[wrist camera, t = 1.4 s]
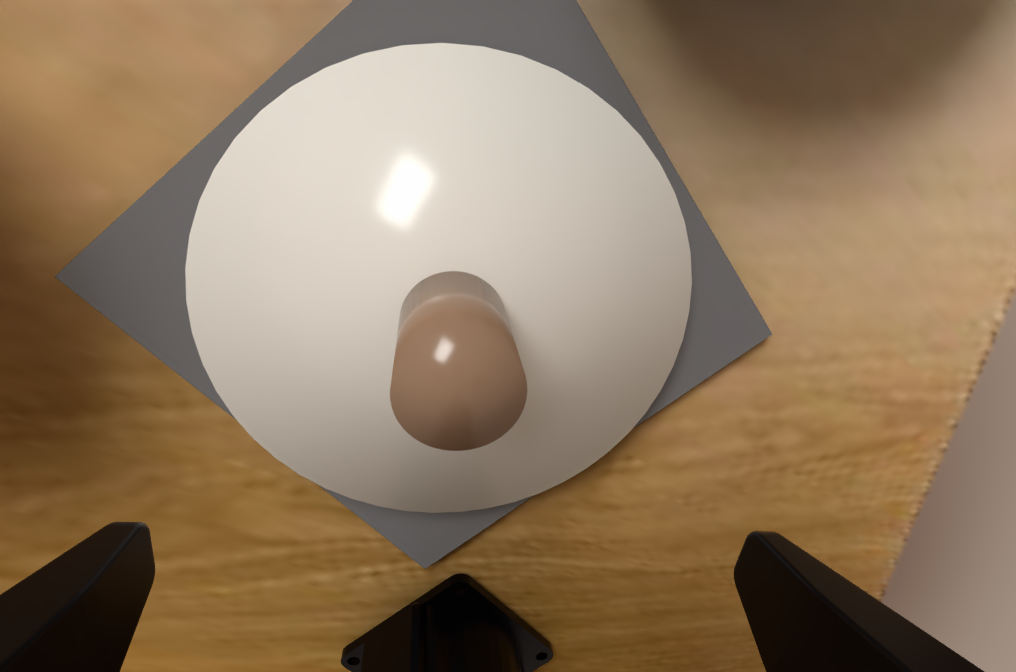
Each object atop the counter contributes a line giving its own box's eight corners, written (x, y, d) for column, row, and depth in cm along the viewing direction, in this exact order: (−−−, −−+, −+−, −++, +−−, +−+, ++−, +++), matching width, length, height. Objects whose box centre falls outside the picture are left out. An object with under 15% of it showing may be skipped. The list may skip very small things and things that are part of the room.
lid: (752, 332, 18) (856, 416, 14) (426, 554, 21) (425, 687, 16) (493, -95, 13) (527, -186, 8) (84, 278, 15) (-63, 366, 11)
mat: (764, 328, 19) (772, 334, 19) (425, 558, 21) (425, 569, 21) (495, -126, 13) (497, -133, 12) (65, 270, 15) (54, 276, 15)
